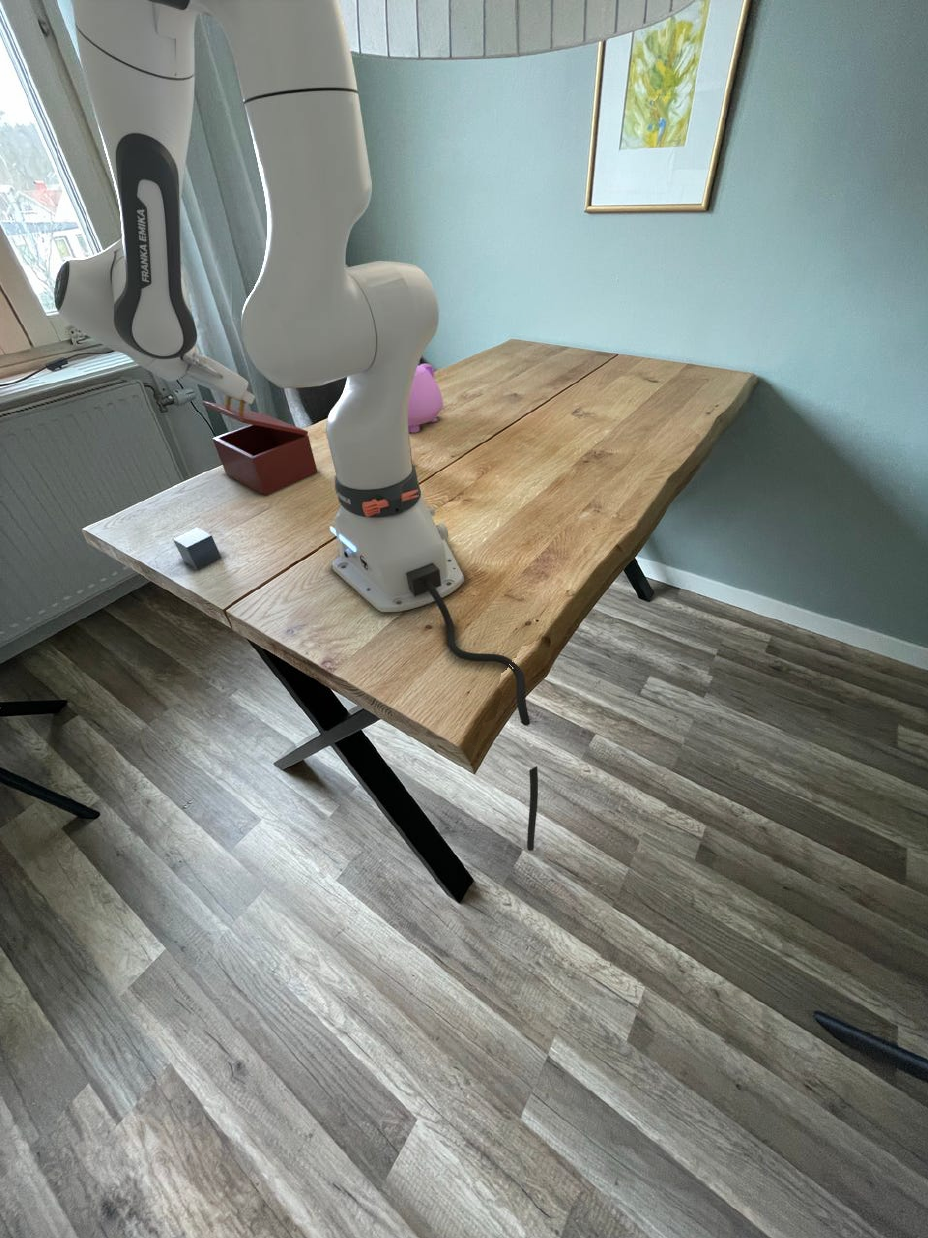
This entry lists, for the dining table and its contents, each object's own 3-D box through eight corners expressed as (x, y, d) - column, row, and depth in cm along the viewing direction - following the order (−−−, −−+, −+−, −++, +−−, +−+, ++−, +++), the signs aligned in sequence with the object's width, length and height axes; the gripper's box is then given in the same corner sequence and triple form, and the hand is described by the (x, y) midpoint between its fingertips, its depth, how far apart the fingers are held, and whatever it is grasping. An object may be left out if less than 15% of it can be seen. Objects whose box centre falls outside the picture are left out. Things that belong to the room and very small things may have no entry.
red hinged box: (265, 496, 102) (252, 458, 97) (226, 474, 111) (212, 438, 105) (317, 472, 109) (308, 435, 104) (277, 453, 117) (266, 418, 112)
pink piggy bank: (404, 447, 116) (395, 382, 107) (354, 434, 123) (342, 372, 114) (462, 413, 129) (458, 353, 119) (413, 403, 136) (406, 345, 127)
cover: (243, 422, 93) (246, 394, 91) (202, 404, 101) (204, 378, 100) (307, 435, 104) (311, 410, 102) (265, 418, 112) (268, 394, 110)
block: (221, 557, 87) (211, 535, 84) (197, 570, 85) (186, 547, 82) (207, 548, 89) (197, 526, 86) (183, 561, 87) (172, 539, 84)
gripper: (206, 342, 81) (278, 390, 93) (151, 325, 92) (221, 370, 103) (190, 380, 82) (263, 423, 93) (137, 359, 92) (208, 400, 104)
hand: (241, 395), depth 99 cm, fingers closed on cover, 6 cm apart
